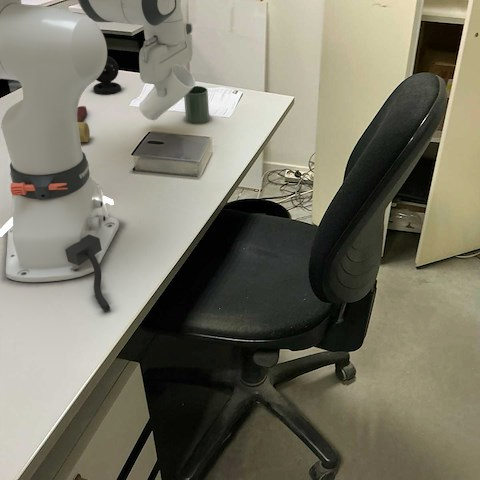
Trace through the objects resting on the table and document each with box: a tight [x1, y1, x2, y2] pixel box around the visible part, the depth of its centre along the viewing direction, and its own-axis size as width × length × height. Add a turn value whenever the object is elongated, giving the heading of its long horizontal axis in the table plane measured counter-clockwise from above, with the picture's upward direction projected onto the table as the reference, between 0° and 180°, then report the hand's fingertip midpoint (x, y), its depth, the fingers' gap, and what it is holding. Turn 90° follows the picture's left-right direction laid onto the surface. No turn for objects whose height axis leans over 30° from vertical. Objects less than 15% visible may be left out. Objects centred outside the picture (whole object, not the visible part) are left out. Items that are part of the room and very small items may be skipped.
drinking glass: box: [138, 64, 196, 121], centre depth 133 cm, size 7×7×15 cm
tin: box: [183, 85, 210, 125], centre depth 144 cm, size 6×6×8 cm
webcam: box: [92, 55, 122, 95], centre depth 157 cm, size 8×8×10 cm
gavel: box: [77, 105, 91, 143], centre depth 137 cm, size 21×5×10 cm
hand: (170, 90), depth 132 cm, fingers closed on drinking glass, 6 cm apart
